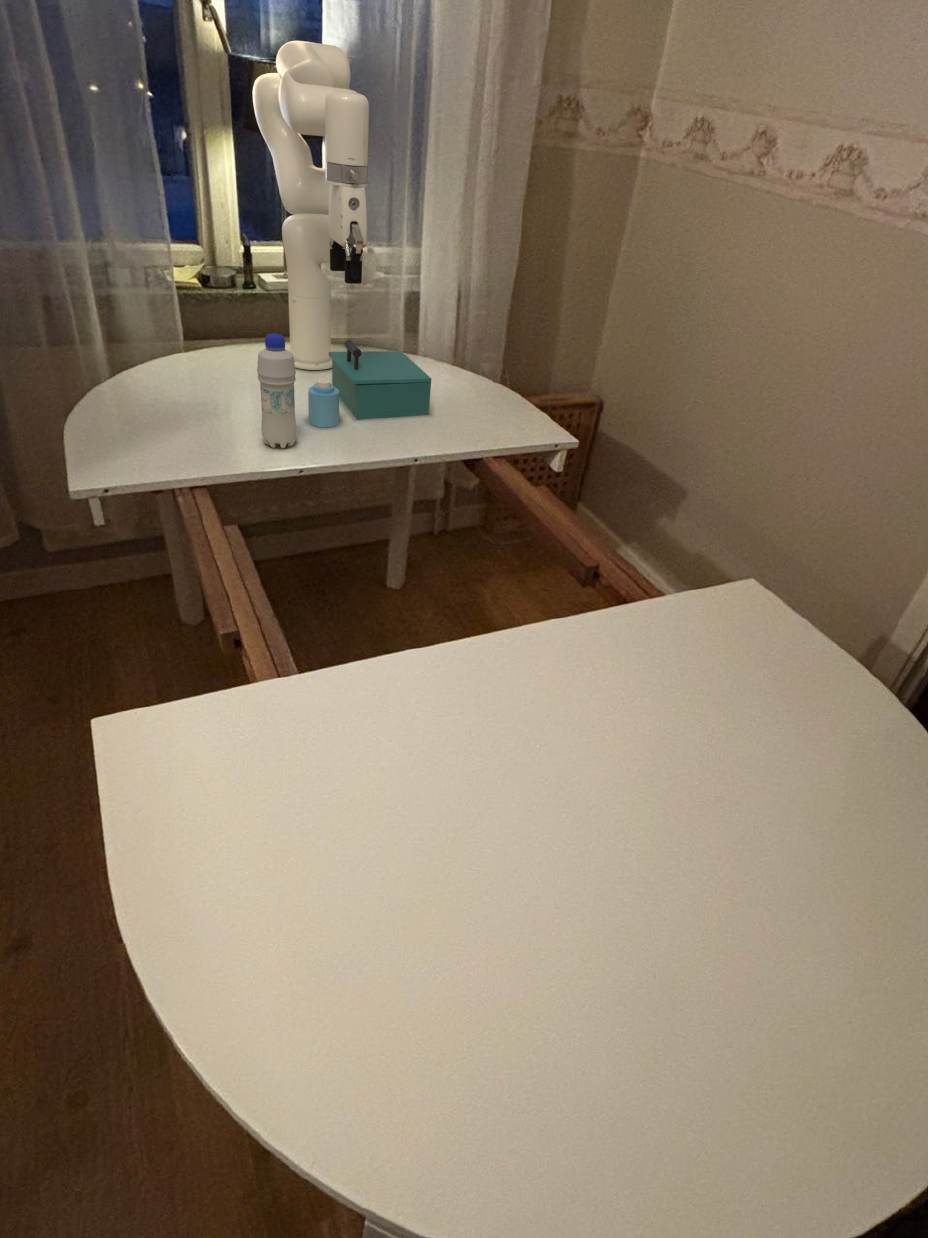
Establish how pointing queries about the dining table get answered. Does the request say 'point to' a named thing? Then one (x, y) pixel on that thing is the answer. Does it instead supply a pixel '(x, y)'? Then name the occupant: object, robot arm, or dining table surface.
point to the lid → (377, 366)
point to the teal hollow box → (382, 397)
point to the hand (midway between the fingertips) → (345, 276)
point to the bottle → (277, 392)
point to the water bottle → (323, 404)
